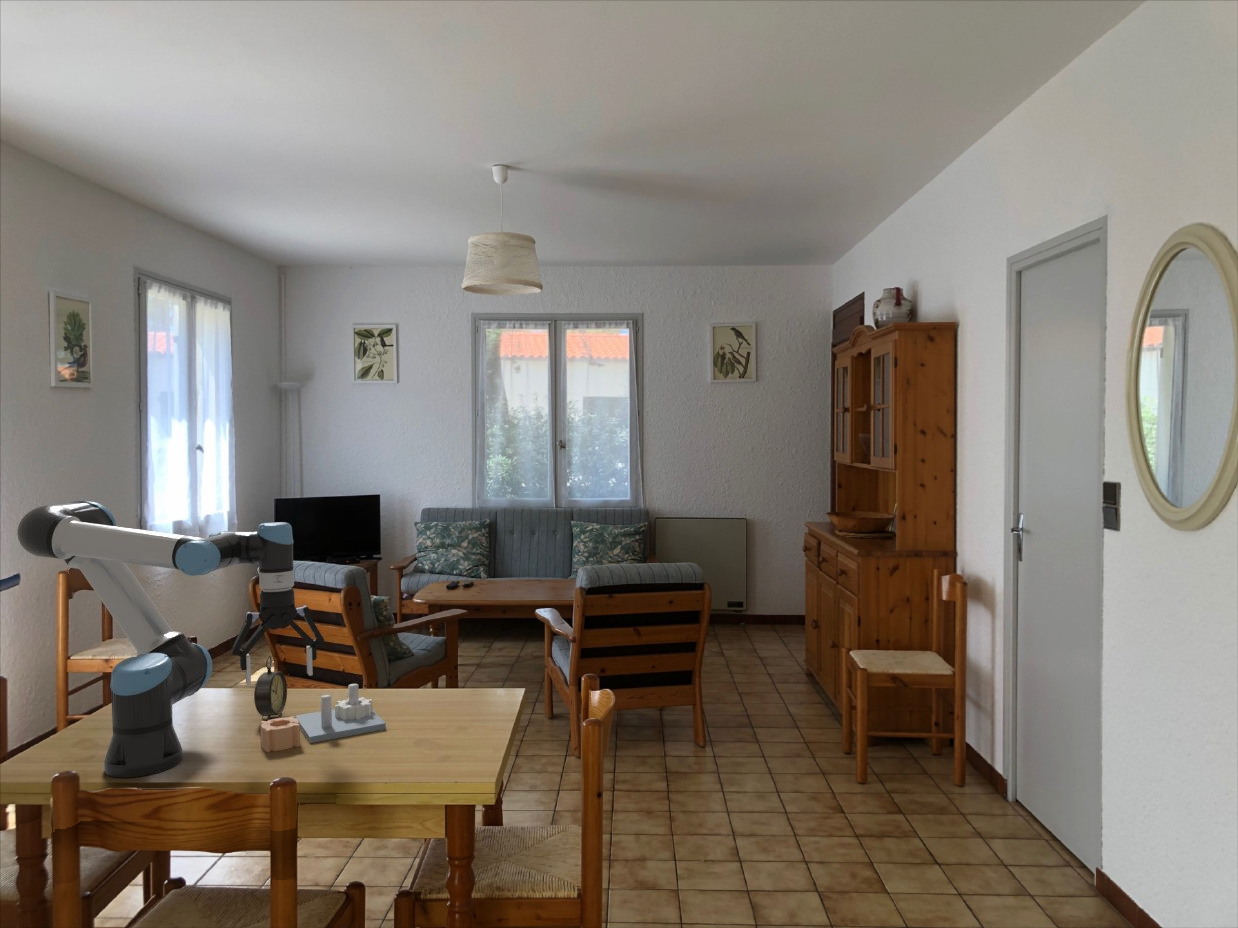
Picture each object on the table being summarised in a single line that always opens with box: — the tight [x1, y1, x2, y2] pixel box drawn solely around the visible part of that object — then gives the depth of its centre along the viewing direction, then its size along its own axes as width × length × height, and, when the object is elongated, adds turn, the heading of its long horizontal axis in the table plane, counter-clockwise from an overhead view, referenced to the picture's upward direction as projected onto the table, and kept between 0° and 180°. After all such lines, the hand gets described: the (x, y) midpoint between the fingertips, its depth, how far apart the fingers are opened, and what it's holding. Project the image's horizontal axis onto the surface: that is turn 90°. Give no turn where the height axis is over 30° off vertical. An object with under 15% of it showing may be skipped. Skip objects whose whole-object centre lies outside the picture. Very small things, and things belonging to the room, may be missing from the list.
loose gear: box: [259, 715, 301, 753], centre depth 202 cm, size 8×8×5 cm
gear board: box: [294, 683, 387, 744], centre depth 214 cm, size 18×18×9 cm
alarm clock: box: [253, 655, 288, 721], centre depth 220 cm, size 11×5×16 cm, turn 0°
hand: (279, 678), depth 201 cm, fingers open, 13 cm apart
